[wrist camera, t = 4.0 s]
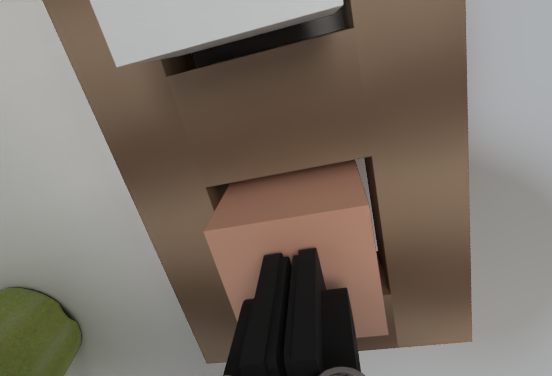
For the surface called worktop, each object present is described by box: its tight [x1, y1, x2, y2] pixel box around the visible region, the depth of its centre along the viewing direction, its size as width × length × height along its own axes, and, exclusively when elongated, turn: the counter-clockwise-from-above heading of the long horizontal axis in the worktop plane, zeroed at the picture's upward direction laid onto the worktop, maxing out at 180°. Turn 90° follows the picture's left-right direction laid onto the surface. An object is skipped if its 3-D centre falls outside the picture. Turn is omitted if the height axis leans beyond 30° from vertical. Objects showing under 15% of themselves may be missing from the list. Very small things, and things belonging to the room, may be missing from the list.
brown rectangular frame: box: [42, 0, 472, 363], centre depth 13 cm, size 22×12×3 cm, turn 14°
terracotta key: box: [203, 159, 389, 338], centre depth 13 cm, size 5×5×4 cm
